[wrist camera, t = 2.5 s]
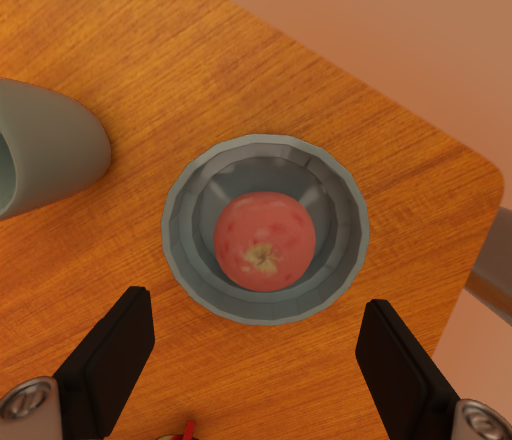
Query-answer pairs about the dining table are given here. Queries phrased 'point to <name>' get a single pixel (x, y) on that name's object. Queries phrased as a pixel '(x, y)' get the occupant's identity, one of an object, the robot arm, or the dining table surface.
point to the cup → (46, 147)
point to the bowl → (276, 180)
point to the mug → (187, 436)
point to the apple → (264, 240)
